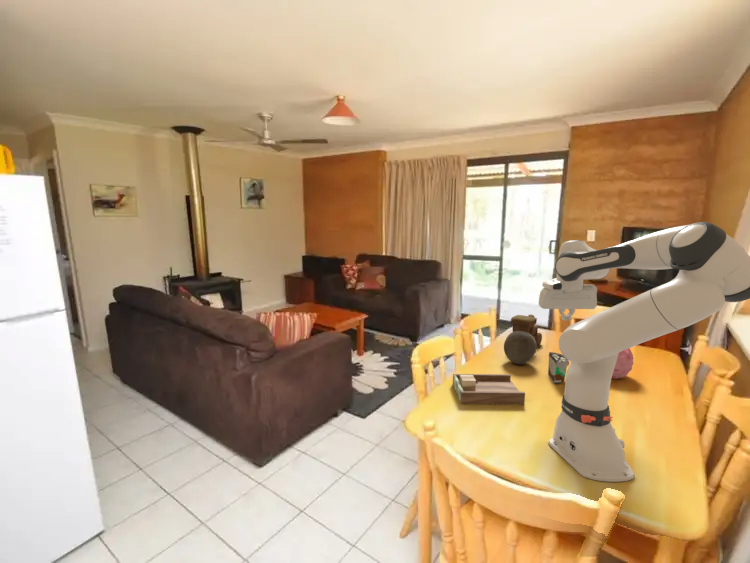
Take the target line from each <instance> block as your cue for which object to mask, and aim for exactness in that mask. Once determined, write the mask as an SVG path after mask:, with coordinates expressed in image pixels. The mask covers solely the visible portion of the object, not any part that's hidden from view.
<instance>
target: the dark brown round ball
mask: <svg viewBox="0 0 750 563" xmlns="http://www.w3.org/2000/svg"><path fill="white" fill-rule="evenodd" d="M537 348H538V345H537V343H536V341H535V339H534V338H533V336H532V335H531V334H529V333H527V332H522V331H515V332H513V331H511V332H510V333H509V334H508V335H507V336H506V338H505V340H504V344H503V351H504V355H505V356H506V358H507V359H508V360H509V361H510V362H512V363H514V364H516V365H524V364H526V363H528V362H530V361H531V360H532V359H533V357H534V356H535V354H536V352H537Z"/></svg>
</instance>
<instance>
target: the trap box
mask: <svg viewBox="0 0 750 563" xmlns="http://www.w3.org/2000/svg"><path fill="white" fill-rule="evenodd" d="M460 375H473V376H474V378H475V380H476V389H475V390H463V389H462V387H461V384H460ZM511 376H512V375H511V374H509V373H508V374H507V373H506V374H505V373H499V374H498V373H494V374H493V373H453V374H452V386H453V389H454V390H456V391H455V393H456V396H457V395H458V396H457V398H458V400H459V403H460V402H461V403H460V404H461V405H525V402H526V401H525V400H526V392H525V391H520V390H519V388H518V387H517V386H516V385H515V384H514V382H513V381H512V380H511Z"/></svg>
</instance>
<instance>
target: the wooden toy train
mask: <svg viewBox="0 0 750 563" xmlns="http://www.w3.org/2000/svg"><path fill="white" fill-rule="evenodd" d="M537 320H538V318H537V317H535V315H534V314H528V315H523V314H517V315H514V316H512V317H511V319H510V324H512V332H515V331H522V332H527V333H529V334H531V335H532V336H533V338H534V339H535V341H536V343H537V346H540V345H541V343H542V341H543V335H542V333H541V332H538V330H539V327H538V325H536V324H537V322H538V321H537Z"/></svg>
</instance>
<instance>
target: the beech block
mask: <svg viewBox="0 0 750 563" xmlns="http://www.w3.org/2000/svg"><path fill="white" fill-rule="evenodd" d="M460 384H461V387H462V389H463V390H475V389H476V380H475V378H474V376H473V375H460Z"/></svg>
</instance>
